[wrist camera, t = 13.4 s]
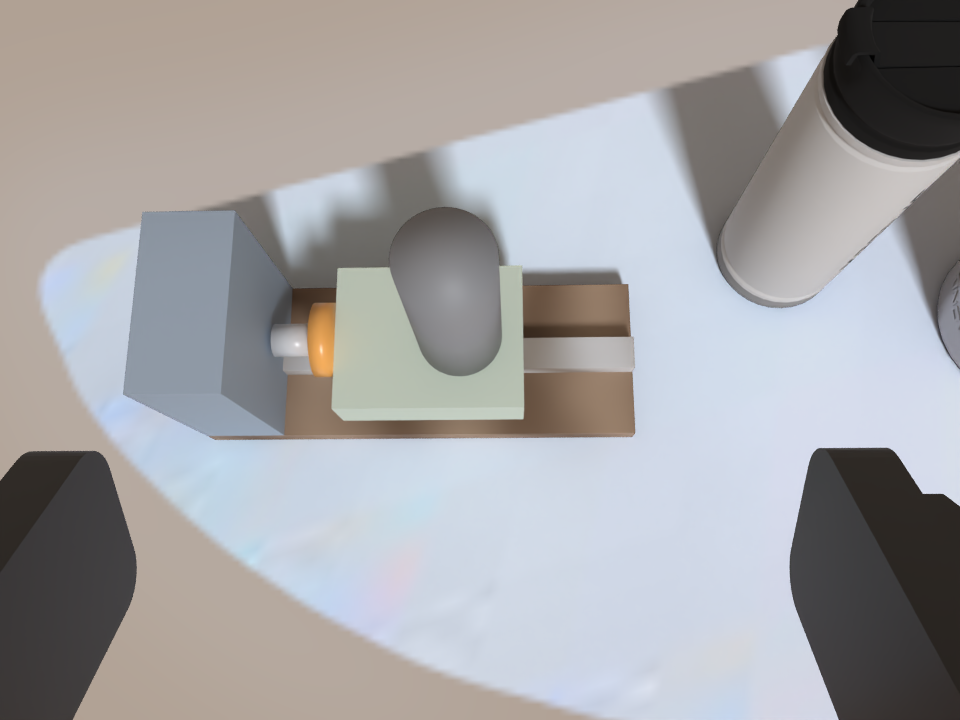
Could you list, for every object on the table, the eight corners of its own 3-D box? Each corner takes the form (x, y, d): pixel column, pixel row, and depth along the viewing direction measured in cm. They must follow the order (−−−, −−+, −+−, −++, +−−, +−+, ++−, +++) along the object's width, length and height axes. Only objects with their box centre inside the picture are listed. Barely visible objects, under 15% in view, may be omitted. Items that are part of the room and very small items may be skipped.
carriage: (521, 286, 45) (525, 168, 32) (523, 419, 43) (528, 350, 30) (348, 288, 45) (285, 173, 32) (343, 420, 43) (274, 352, 31)
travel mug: (704, 205, 48) (834, -52, 29) (823, 200, 48) (1035, -61, 29) (714, 311, 46) (859, 116, 27) (838, 307, 46) (1072, 107, 27)
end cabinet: (292, 285, 46) (235, 206, 37) (284, 435, 44) (220, 393, 35) (219, 286, 47) (143, 207, 37) (207, 435, 44) (122, 394, 35)
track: (625, 291, 47) (630, 277, 45) (631, 436, 45) (637, 429, 43) (226, 296, 48) (213, 283, 46) (215, 439, 46) (200, 432, 44)
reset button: (345, 315, 44) (330, 292, 40) (342, 384, 43) (327, 366, 39) (286, 316, 44) (267, 292, 40) (282, 385, 43) (262, 367, 39)
